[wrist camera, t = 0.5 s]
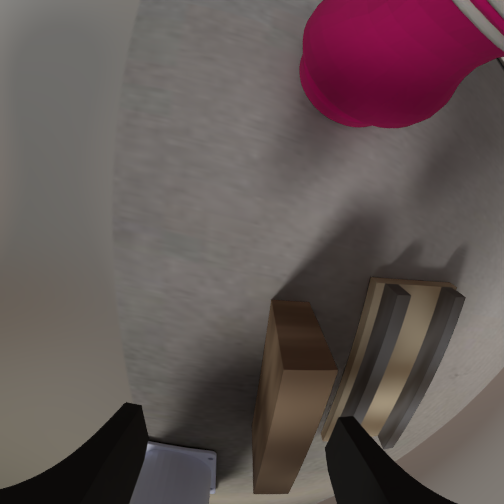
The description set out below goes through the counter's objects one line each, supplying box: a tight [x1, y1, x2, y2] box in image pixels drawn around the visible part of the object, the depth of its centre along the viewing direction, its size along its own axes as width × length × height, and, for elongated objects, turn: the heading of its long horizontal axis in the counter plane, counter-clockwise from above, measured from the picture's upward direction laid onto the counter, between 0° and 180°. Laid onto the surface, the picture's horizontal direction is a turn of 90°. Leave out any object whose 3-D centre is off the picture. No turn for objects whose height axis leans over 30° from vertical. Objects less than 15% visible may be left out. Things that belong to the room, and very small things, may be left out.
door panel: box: [252, 300, 338, 494], centre depth 17 cm, size 12×3×7 cm, turn 174°
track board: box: [321, 277, 466, 449], centre depth 19 cm, size 15×7×3 cm, turn 174°
